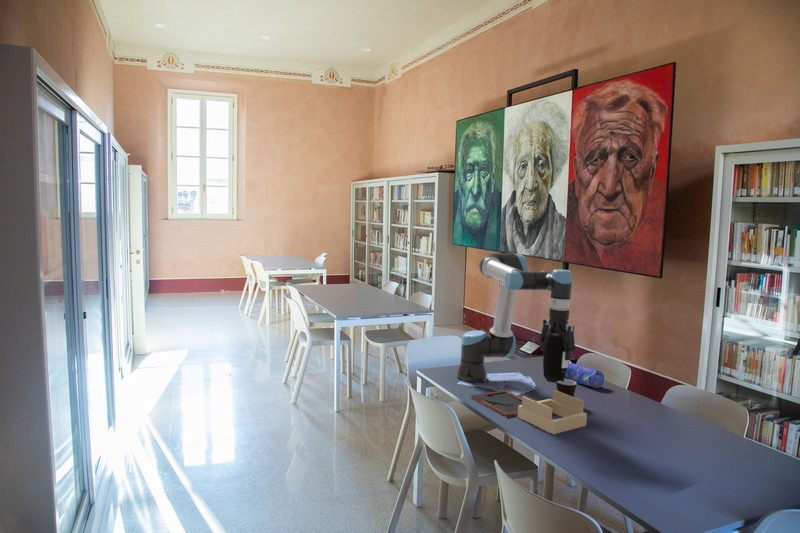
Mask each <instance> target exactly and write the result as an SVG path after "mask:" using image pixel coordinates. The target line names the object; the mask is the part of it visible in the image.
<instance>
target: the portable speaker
mask: <svg viewBox="0 0 800 533" xmlns="http://www.w3.org/2000/svg"><path fill="white" fill-rule="evenodd" d="M562 333H564V332H562ZM566 335H567V334H564V336H566ZM567 349H568V348H567ZM563 351H565V350H564V346H563V335H559V333H558V332H555V333H551V332H549V331H548V332H547V337H546V341H545V345H544V353H543V357H542V358H543V359H542V362H543V363H542V369H543V377H544V378H545V381H547V382H548V383H553V384H556V382H557V381H562V382H564V379H565V374H566V370H567V368H562V357H563Z"/></svg>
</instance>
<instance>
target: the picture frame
mask: <svg viewBox="0 0 800 533" xmlns="http://www.w3.org/2000/svg"><path fill="white" fill-rule="evenodd" d="M471 398H472V399H471ZM470 399H471V400H473V399H474V400H473V401H475V400H476V401H475V402H477V401H478V402H477V403H479V402H480V403H479V404H481V403H482V404H484V405H485V407H486V406H487V407H486V408H488V407H489V408H488V409H490V408H491V409H490V410H492V409H493V410H494V412H495V411H496V413H497V412H498V413H497V414H499V413H500V414H499V415H501V414H502V415H501V416H503V415H504V416H506V417H508V418H510V417H509V416H514V417H517V416H516V415H518V406H519V405H522V397H521V396H518V395H517V394H514V393H512V392H511V391H509V390H506V389H505V390H498V391H492V392H485V393H479V394H472V395H470ZM482 404H481V405H482ZM484 405H483V406H484ZM493 410H492V411H493ZM504 416H503V417H504ZM506 417H505V418H506Z"/></svg>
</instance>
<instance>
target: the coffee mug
mask: <svg viewBox="0 0 800 533" xmlns="http://www.w3.org/2000/svg"><path fill="white" fill-rule="evenodd" d="M555 384H556V390H557V391H559V392H562V393H564V394H567V395H570V396H572V397H575V394H576V390H577V389H576V388H577V384H578V383H576V382H575V381H572V380H568V379H565V378H564V382H562V381H557V382H556V383H555Z"/></svg>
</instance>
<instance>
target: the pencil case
mask: <svg viewBox="0 0 800 533" xmlns="http://www.w3.org/2000/svg"><path fill="white" fill-rule="evenodd" d="M564 379H568V380H572V381H575V382H576V383H577V384H579V385H583V386H584V385H585V386H587V387H590V388H594V389H599V388H601V387H602V386H603V384H604V380H605V375H604V373H603V372H602V371H601V370H599V369H597V368H590V367H585V366H583V365H580V364H577V363H573V362H572V361H571V360H568V368H567V370H566V374H565V378H564Z"/></svg>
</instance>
